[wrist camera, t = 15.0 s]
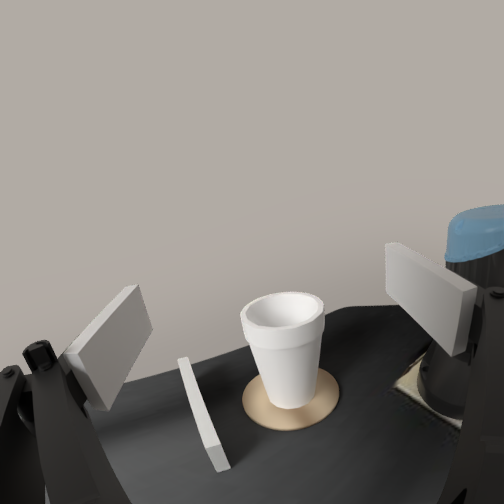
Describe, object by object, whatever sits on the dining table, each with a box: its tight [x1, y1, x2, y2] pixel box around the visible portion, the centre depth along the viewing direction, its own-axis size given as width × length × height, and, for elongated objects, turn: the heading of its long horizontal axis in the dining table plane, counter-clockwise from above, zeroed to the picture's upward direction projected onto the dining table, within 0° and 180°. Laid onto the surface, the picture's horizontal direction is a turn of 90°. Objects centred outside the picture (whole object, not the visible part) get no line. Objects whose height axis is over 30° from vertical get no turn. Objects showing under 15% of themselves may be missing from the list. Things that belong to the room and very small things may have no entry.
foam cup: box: [240, 292, 325, 409], centre depth 34 cm, size 10×9×13 cm
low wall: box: [177, 357, 231, 472], centre depth 32 cm, size 2×18×5 cm, turn 22°
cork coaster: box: [242, 368, 339, 431], centre depth 35 cm, size 13×13×1 cm
